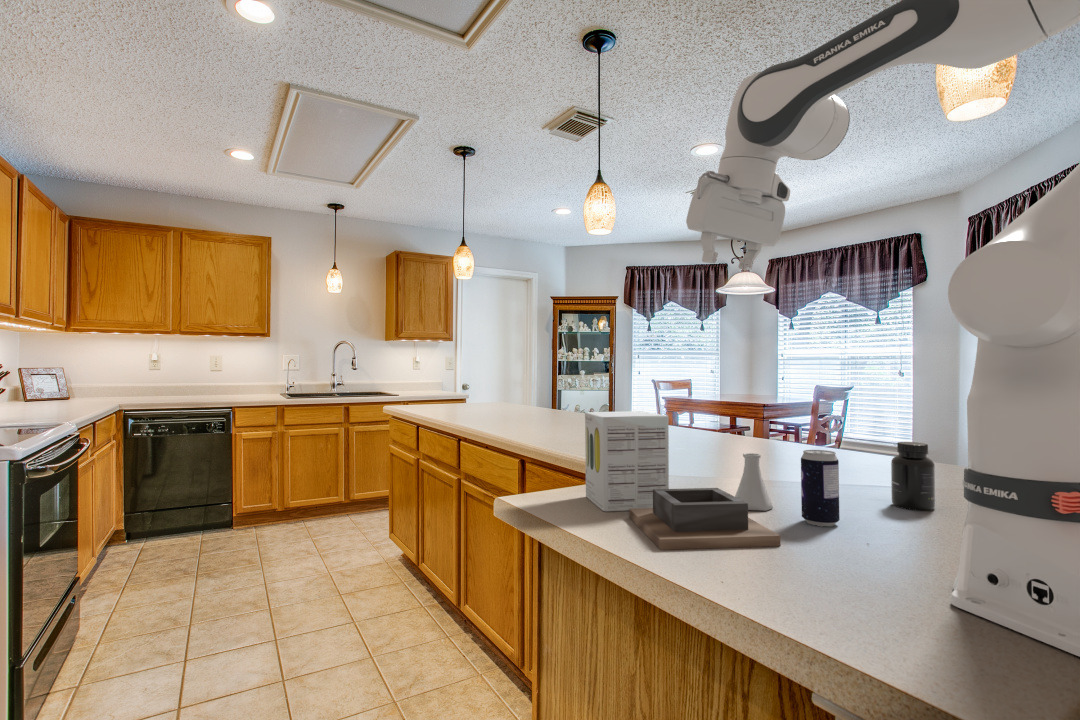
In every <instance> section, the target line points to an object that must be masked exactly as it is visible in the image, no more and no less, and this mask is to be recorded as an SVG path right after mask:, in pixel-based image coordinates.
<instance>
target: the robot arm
mask: <svg viewBox="0 0 1080 720" xmlns="http://www.w3.org/2000/svg"><path fill="white" fill-rule="evenodd" d="M1079 22H1080V0H901V1H898V2H897V3H895V4H893V5H891V6H889V7H887V8H885V9H884V10H881V11H880V12H878V13H877V14H875V15H873V16H871V17H869V18H867V19H865V20H864V21H862V22H860V23H859V24H856V25H855V26H854V27H852V28H850V29H848V30H847V31H845V32H843V33H840V35H838V36H835V37H834V38H833V39H831V40H829V41H827V42H825V43H823V44H822V45H821V46H819V47H817V48H814V49H813V50H812V51H810V52H808V53H806V54H803V55H802V56H799V57H797V58H795V59H792V60H787V61H784V62H781V63H777V64H774V65H771V66H769V67H767V68H765V69H764V70H762V71H759V72H756V73H753V74H750V75H749V76H747V77H746V78H744V79H743V80H742V82H741V83H740V84H739V86H738V88H737V90H736V92H735V93H734V96H733V98H732V102H731V106H730V110H729V113H728V118H727V122H726V128H725V132H724V133H725V135H724V136H725V146H724V148H723V149H724V150H723V152H722V154H721V156H720V159H719V164H718V170H717V172H715V171H713V170H707V171H706V172H704V173H702V174H701V176H699V178H698V180H697V186H696V188H695V189H694V192H693V194H692V197H691V201H690V204H689V208H688V210H687V215H686V220H685V222H686V225H687V228H688V230H690V231H694V232H699V233H701V234H700V242H701V247H702V252H703V253H702V258H701V260H702V261H701V262H703V263H707V264H716V263H717V258H718V255H719V253H718V252H716V250H715V249H716V248H715V242H717V240H718V239H717V238H718V237H721V238H724V239H729V240H733V241H737V242H742V243H746V244H745V250H747V251H746V252H745V253H744V256H743V258H742V257H741V258H739V262H738V263H739V264H738V269H740V270H745V271H751V270H753V265H754V262H755V259H757V257H758V256H759V254H760V253H761V252H762V247H774V246H776V244H777V243H778V242H779V240H780V237H781V235H782V232H783V226H784V222H785V216H786V205H785V203H784V202H788V201H789V200H790V196H791V188H790V187H789V186H788V185H787V184H786V183H785V182H784V181H783V180H782V178H781V177H780V175H779V174H778V173H777V172H776V169H777V164H778V162H779V160H780V159H781V158H784V157H787V158H792V159H796V160H801V161H816V160H820V159H823V158H825V157H827V156H829V155H830V154H831V153H833V152H834V151H835V150H836V149H837V148H838V147H839V145H841V143H842V142H843V140H844V139H845V137H846V135H847V133H848V131H849V126H850V122H851V121H850V120H851V115H850V111H849V110H850V109H849V107H848V106H847V104H846V103H845V102H843V100H842V99H840V97H838V96H836V95H837V94H839V93H841V92H843V91H845V90H847V89H848V88H851V87H852V86H855V85H857V84H858V83H860V82H862V81H864V80H866V79H868V78H870V77H872V76H874V75H876V74H878V73H880V72H882V71H885V70H887V69H888V70H889V69H890V68H895V67H897V66H902V65H909V64H930V65H931V64H932V65H940V66H941V65H942V66H947V67H952V68H957V69H964V70H965V69H967V70H969V69H970V70H975V69H982V68H984V67H987V66H990V65H993V64H996V63H999V62H1001V61H1005V60H1006V59H1009V58H1010V59H1011V58H1012V57H1014V56H1016V55H1019V54H1020V53H1022V52H1024V51H1026V50H1029V49H1031V48H1033V47H1035V46H1036V45H1038V44H1040V43H1042V42H1044V41H1045V40H1048V39H1049V38H1051V37H1053V36H1054V35H1057V34H1058V33H1061V32H1062V31H1064V30H1066V29H1068V28H1070V27H1072V26H1073V25H1075V24H1077V23H1079ZM947 289H948V290H947V296H948V303H949V305H950V309H951V311H952V313H953V316H954V317H955V318H956V320H957V321H958V323H959V324H960V325H961V326H962V327H963V329H965V330H966V331H967V332H969V333H970V334H971V335H973V336H975V337H976V338H977V344H976V353H975V362H974V368H973V369H974V370H973V375H972V379H971V380H972V381H971V385H970V390H969V393H968V396H967V400H966V414H967V415H966V416H967V417H966V418H967V420H966V422H967V425H966V426H967V454H968V455H967V457H968V459H967V460H968V466H967V467H965V468H964V469H963V478H962V486H963V498H964V499H965V500H966V501H967V511H966V518H965V522H964V525H963V529H962V534H961V535H962V536H961V543H960V552H959V559H958V568H957V573H956V576H955V579H954V582H953V585H952V589H953V591H952V592H951V594H950V604H951V605H952V606H954V607H956V608H959V609H961V610H963V611H966V612H969V613H971V614H974V615H975V616H978V617H981V618H983V619H986V620H988V621H990V622H993V623H995V624H997V625H1001V626H1003V627H1006V628H1008V629H1010V630H1013V631H1015V632H1017V633H1021V634H1023V635H1025V636H1027V637H1030V638H1032V639H1035V640H1037V641H1039V642H1043V643H1045V644H1047V645H1050V646H1053V647H1055V648H1057V649H1060V650H1062V651H1064V652H1068V653H1069V654H1072V655H1075V656H1078V657H1080V163H1078V165H1076V167H1075V168H1074V169H1072V171H1070V172H1069V173H1068V174H1067V175H1066V177H1065V178H1063V179H1062V180H1061V181H1060V182H1059V183H1057V184H1056V185H1055V186H1054V187H1053V188H1051V190H1050V191H1048V192H1047V193H1046V194H1045V195H1043V196H1041V198H1039V199H1038V200H1037V201H1036V202H1035V203H1033V204H1032V205H1031V206H1030V207H1028V208H1027V209H1025V211H1023V212H1022V213H1021V214H1020V215H1019V216H1017V217H1015V219H1014V220H1013V221H1011V222H1010V223H1009V224H1008V225H1007V226H1006V227H1004V228H1003V230H1001V231H1000V232H999V233H998V234H997V235H995V236H994V237H993V238H992V239H991V240H990V241H989V242H987V244H985V245H984V246H982V247H981V248H980V247H979V248H978V249H977V250H975V251H973V252H972V253H970V254H969V255H968V256H966V257H965V258H964V259H963V261H961V262H960V263H959V264H958V266H957V267H956V268H955V270H954V271H953V273H952V275H951V277H950V280H949V283H948V288H947Z"/></svg>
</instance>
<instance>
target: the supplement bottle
mask: <svg viewBox="0 0 1080 720" xmlns="http://www.w3.org/2000/svg"><path fill="white" fill-rule="evenodd" d="M896 445H897V446H896V447H897V449H896V452H897V453H898V455H895V456H894V457H893V458H892V459H891V461H890V462H891V463H890V465H891V466H890V467H891V468H890V469H891V471H890V474H891V477H890V478H891V481H890V482H891V487H890V488H891V489H890V490H891V504H892V505H893V506H894V507H897V508H899V509H903V510H904V509H905V510H909V511H917V512H918V511H919V512H929V511H933V510H934V509H935V508H936V476H935V475H936V473H935V472H936V471H935V470H936V469H935V468H936V465H935V463H934V461H933V460H932V459H931V458H929V457H928V456H927V455H929V452H930V451H929V445H928V444H927V443H924V442H915V441H898V442H897V444H896Z"/></svg>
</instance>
